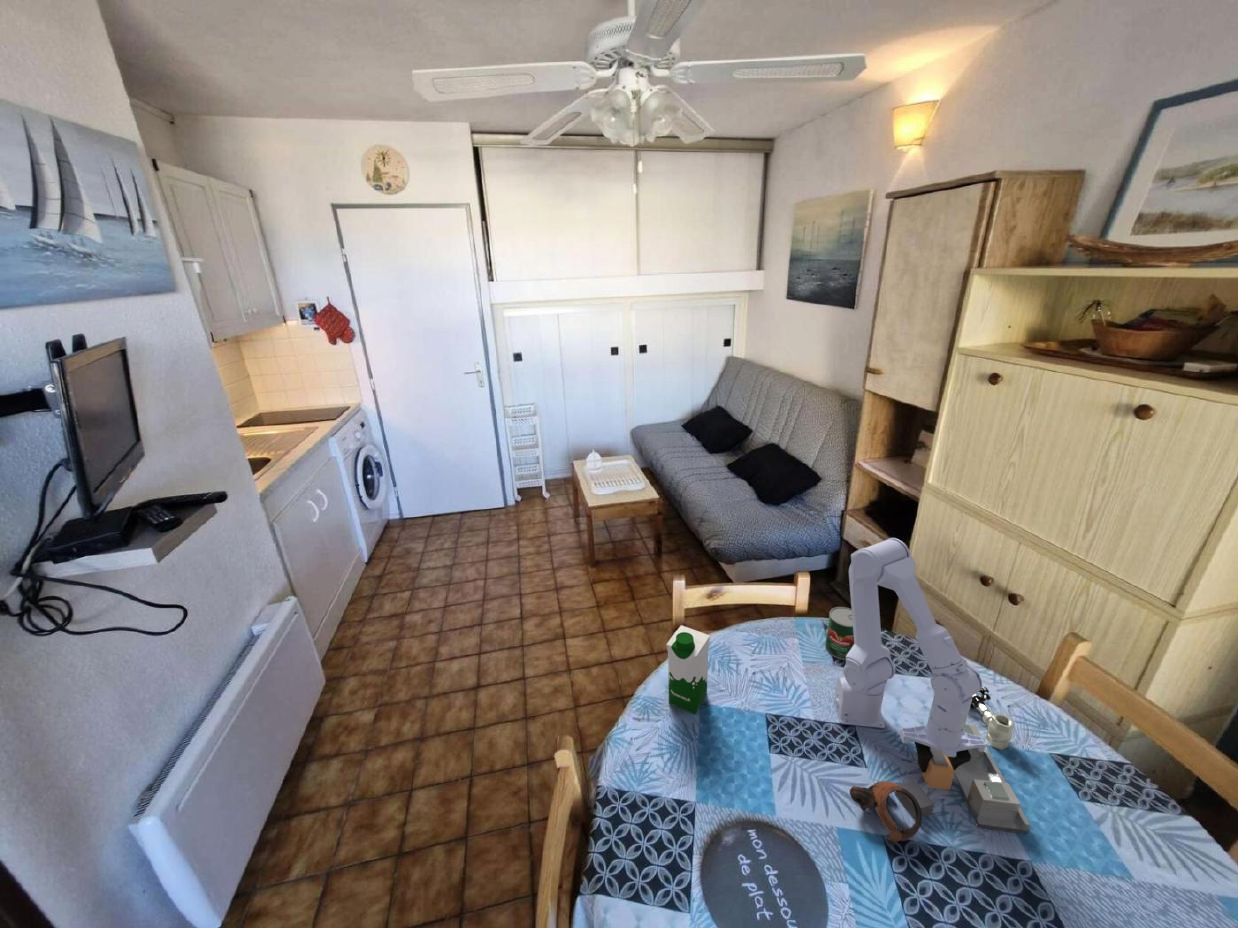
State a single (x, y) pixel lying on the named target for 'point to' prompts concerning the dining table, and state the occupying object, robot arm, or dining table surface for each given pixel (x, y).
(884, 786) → the knobbed brown ring
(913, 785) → the dark gray block
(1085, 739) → the dining table surface
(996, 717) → the valve
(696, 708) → the milk carton
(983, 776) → the rail plate
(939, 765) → the orange module
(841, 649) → the canned tomato
